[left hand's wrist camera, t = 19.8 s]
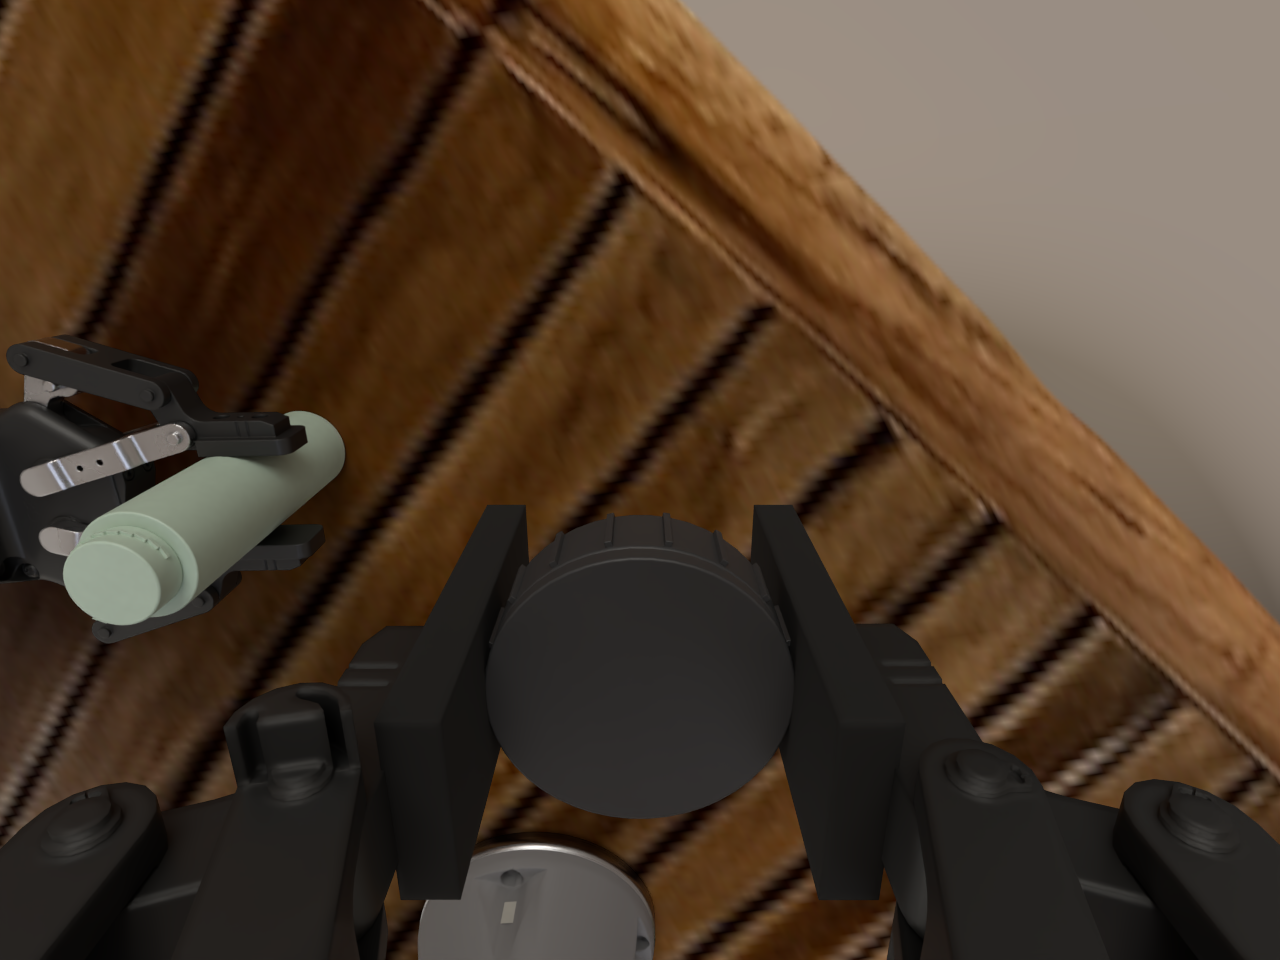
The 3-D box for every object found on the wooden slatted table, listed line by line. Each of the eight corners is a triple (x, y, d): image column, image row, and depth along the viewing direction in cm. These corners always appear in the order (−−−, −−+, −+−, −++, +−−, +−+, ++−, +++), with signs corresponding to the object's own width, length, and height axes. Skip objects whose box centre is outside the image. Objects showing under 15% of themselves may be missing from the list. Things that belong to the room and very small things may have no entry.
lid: (649, 797, 13) (651, 870, 12) (440, 649, 12) (413, 709, 11) (839, 631, 12) (867, 689, 11) (626, 450, 11) (624, 486, 9)
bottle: (283, 396, 36) (65, 506, 22) (358, 435, 37) (191, 565, 23) (254, 461, 37) (32, 604, 24) (327, 498, 38) (152, 658, 24)
